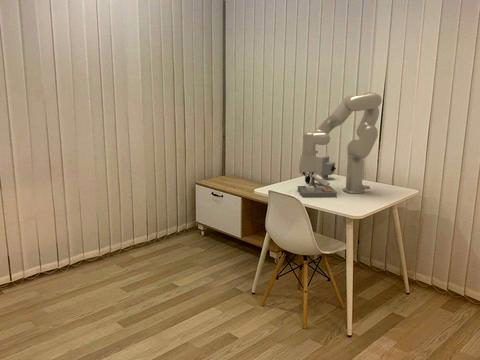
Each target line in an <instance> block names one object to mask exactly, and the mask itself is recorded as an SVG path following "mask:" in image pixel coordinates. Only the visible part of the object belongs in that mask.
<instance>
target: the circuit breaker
mask: <svg viewBox="0 0 480 360" xmlns="http://www.w3.org/2000/svg"><path fill="white" fill-rule="evenodd" d="M316 157H317V173H316V174H317V175H319V176H321V177H322V178H323V179H325V180H326V178H327V179H328V178H329V176H331V175H334V174H335V170H337V168H336V162H333V161H330V156H329V155H321V154H318V155H316Z"/></svg>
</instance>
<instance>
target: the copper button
mask: <svg viewBox="0 0 480 360" xmlns="http://www.w3.org/2000/svg"><path fill="white" fill-rule="evenodd" d="M322 191H323V192H331V189H330V188H322Z"/></svg>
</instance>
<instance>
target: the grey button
mask: <svg viewBox="0 0 480 360" xmlns="http://www.w3.org/2000/svg"><path fill="white" fill-rule="evenodd" d="M305 186H306V189H305V191H306V192H314V190H315V188H314V186H309V185H305Z"/></svg>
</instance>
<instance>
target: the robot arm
mask: <svg viewBox="0 0 480 360" xmlns="http://www.w3.org/2000/svg"><path fill="white" fill-rule="evenodd" d="M382 100H383V98H382V96H381V95H380V94H379V93H377V92H371V91H370V92H369V91H367V92H366V91H365V92H364V93H363V94H361V95H347V96H345V98H343V100H342V101H341V102H340V104H339V105H338V106H337V108H336V109H335V110H334V111H333V112H332V114H330V115H329V116H328V117H327V118H326V119H325V120H323V121H322V122H321V124H320V125H319V126H318V127H317V128H316V130H315V131H306V132H303V134H302V154H300V157H299V158H300V159H299V166H298V168H299V171H298V174H300V175H303V176H305V177H304V182H305V184H308V185H310V184H311V176H312V175H313V174H316V173H317V157H316V156H317V155H316V154H318V150H316V149H317V148H316V146H317V145H319V146H326V145H328V144H329V143H330V142H331V136H330V135H329V134H330V133H331V132H332V130H334V129H336V128H337V127H339V126H341V125H343V124H344V123H345V122H346V120H347V119H348V118H349V116H350V115H351V114H352V113H353V112H361V111H364V112H363V115H362V118H361V120H360V121H359V124H358V126H357V128H356V132H355V133H356V136H357V137H358V139H352V140H350V141H349V143H348V144H347V147H346V149H347V150H346V153H347V163H346V164H347V165H346V178H345V179H346V180H345V187H343V189H342V191H343V192H344V193H346V194H347V193H348V194H353V195H354V194H356V195H357V194H358V195H359V194H364V193H365V190H370V188H371V186H370V185H366V184H365V185H364V184H363V178H364V177H363V176H364V165H365V164H364V163H365V162H364V161H365V158H367V157H368V156H369V155H370V153H371V151H372V150H373V147H374V145H375V144H376V140H377V139H378V136H379V135H378V134H379V130H378V128H377V127H376V124H377V121H378V118H379V114H380V106H381V103H382ZM308 172H309V175H307V173H308Z"/></svg>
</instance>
